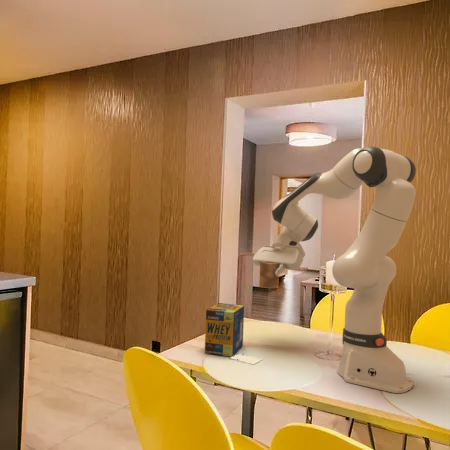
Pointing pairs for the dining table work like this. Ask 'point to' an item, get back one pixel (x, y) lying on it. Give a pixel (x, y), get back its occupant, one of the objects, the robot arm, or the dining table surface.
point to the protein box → (224, 329)
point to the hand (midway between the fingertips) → (268, 274)
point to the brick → (268, 275)
